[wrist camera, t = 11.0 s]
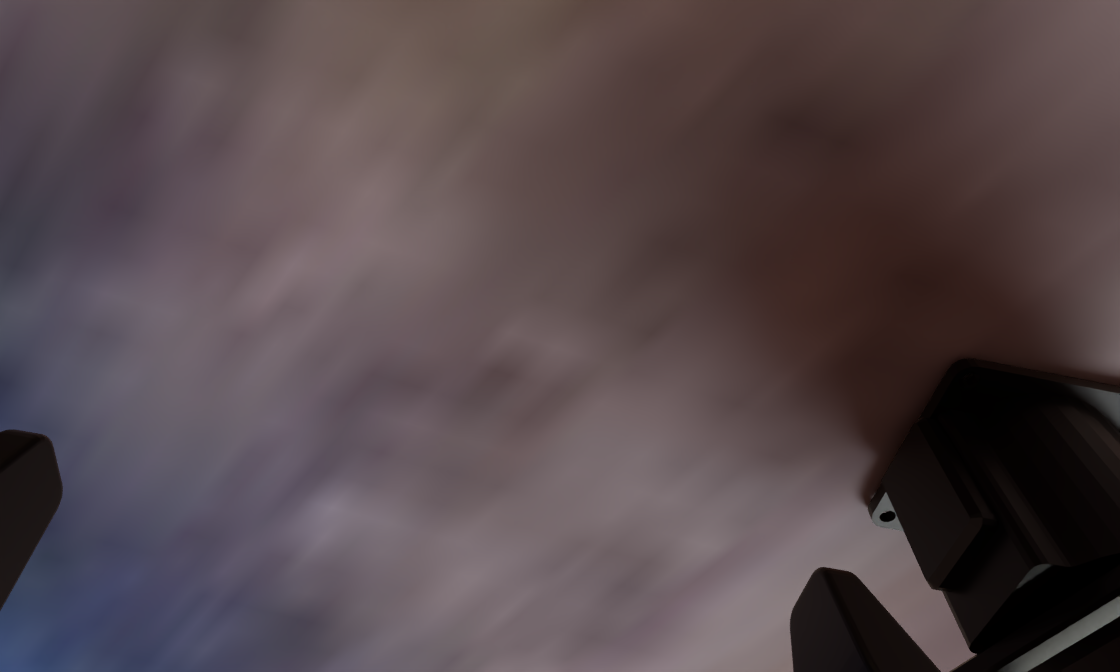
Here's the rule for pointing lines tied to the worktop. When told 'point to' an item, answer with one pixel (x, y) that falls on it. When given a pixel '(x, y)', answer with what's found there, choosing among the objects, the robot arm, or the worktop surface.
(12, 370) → the worktop surface
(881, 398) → the worktop surface
